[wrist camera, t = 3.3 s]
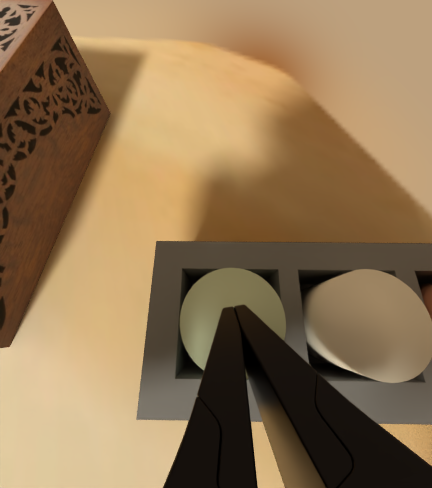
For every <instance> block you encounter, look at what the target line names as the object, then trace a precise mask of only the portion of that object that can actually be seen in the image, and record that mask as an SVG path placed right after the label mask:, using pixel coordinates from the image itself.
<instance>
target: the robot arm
mask: <svg viewBox="0 0 432 488" xmlns="http://www.w3.org/2000/svg"><path fill="white" fill-rule="evenodd" d="M246 373H247V376H248V379H249V382H250V385H251V388H252V391H253V394H254V397H255V400H256V403H257V406H258V409H259V412H260V415H261V418H262V421H263V424H264V427H265V430H266V433H267V436H268V439H269V442H270V445H271V448H272V450H273V453H274V456H275V459H276V462H277V465H278V468H279V471H280V474H281V477H282V480H283V483H284V486H285V488H432V466H431V465H429V464H428V463H427V462H426V461H424V460H423V459H422V458H421V457H419V456H418V455H417V454H415V453H414V452H413V451H412V450H410V449H409V448H408V447H407V446H405V445H404V444H403V443H401V442H400V441H399V440H398V439H396V438H395V437H394V436H393V435H391V434H390V433H389V432H387V431H386V430H385V429H384V428H382V427H381V426H380V425H379V424H377V423H376V422H375V421H374V420H372V419H371V418H370V417H369V416H367V415H366V414H365V413H364V412H362V411H361V410H360V409H359V408H358V407H356V406H355V405H354V404H353V403H351V402H350V401H349V400H348V399H347V398H346V397H344V396H343V395H342V394H341V393H340V392H339V391H338V390H337V389H335V388H334V387H333V386H332V385H331V384H330V383H329V382H328V381H327V380H326V379H325V378H324V377H322V376H321V375H320V374H317V371H316V370H315V369H314V368H313V367H312V366H311V365H309V364H308V363H307V362H306V361H305V360H304V359H303V358H302V357H301V356H300V355H299V354H298V353H297V352H295V351H294V350H293V349H292V348H291V347H290V346H289V345H288V344H287V343H286V342H285V341H284V340H283V339H282V338H280V337H279V336H278V335H277V334H276V333H275V332H274V331H273V330H272V329H271V328H270V327H269V326H268V325H267V324H265V323H264V322H263V321H262V320H261V319H260V318H259V317H258V316H257V315H256V314H255V313H254V312H253V311H251V310H250V309H249V308H248V307H247V306H246V305H244V304H242V305H236V306H234V307H233V306H231V307H225V308H223V309H222V312H221V315H220V318H219V322H218V325H217V328H216V332H215V335H214V339H213V342H212V345H211V349H210V352H209V355H208V359H207V362H206V366H205V369H204V372H203V376H202V379H201V383H200V386H199V389H198V393H197V397H196V399H195V402H194V406H193V409H192V412H191V415H190V418H189V422H188V425H187V428H186V431H185V434H184V436H183V439H182V442H181V444H180V447H179V449H178V452H177V455H176V457H175V460H174V462H173V465H172V467H171V469H170V472H169V474H168V477H167V479H166V482H165V484H164V486H163V488H258V487H257V477H256V468H255V458H254V448H253V438H252V429H251V419H250V409H249V399H248V390H247V380H246Z"/></svg>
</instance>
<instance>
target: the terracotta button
mask: <svg viewBox="0 0 432 488" xmlns="http://www.w3.org/2000/svg"><path fill="white" fill-rule="evenodd" d="M419 287H420V290H421V294H422V297H423V300H424V303H425V307H426V309H427V311H428V313H429V315H430V318H431V320H432V283H426V284H421V285H419Z"/></svg>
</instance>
